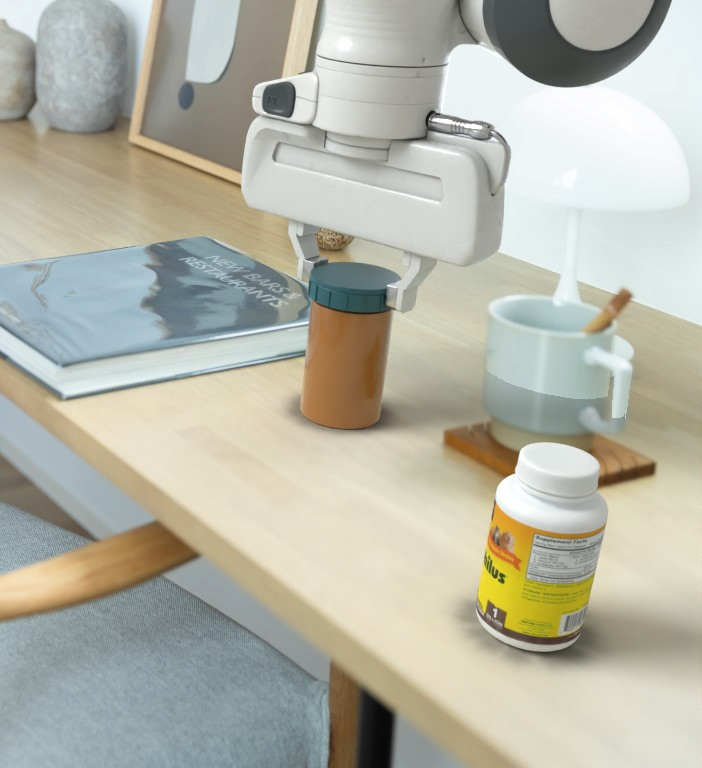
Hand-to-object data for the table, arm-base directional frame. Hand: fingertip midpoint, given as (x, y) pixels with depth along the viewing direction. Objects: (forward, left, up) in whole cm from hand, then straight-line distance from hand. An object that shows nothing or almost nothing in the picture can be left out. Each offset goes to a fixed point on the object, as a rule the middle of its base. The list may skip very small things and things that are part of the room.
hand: (353, 294), depth 85 cm
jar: (0, 0, -9) cm, 9 cm away
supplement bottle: (-3, +28, -10) cm, 30 cm away
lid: (0, 0, +1) cm, 1 cm away
